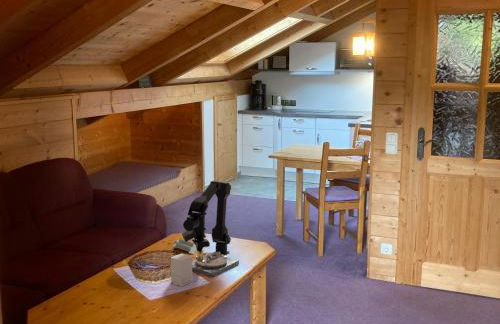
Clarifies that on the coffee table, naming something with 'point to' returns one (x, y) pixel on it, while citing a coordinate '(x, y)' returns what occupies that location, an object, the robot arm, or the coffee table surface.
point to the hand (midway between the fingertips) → (198, 254)
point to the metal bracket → (185, 246)
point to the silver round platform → (210, 259)
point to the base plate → (216, 270)
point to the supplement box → (181, 269)
